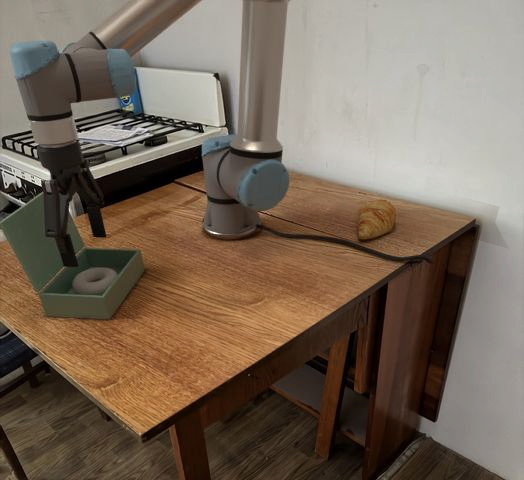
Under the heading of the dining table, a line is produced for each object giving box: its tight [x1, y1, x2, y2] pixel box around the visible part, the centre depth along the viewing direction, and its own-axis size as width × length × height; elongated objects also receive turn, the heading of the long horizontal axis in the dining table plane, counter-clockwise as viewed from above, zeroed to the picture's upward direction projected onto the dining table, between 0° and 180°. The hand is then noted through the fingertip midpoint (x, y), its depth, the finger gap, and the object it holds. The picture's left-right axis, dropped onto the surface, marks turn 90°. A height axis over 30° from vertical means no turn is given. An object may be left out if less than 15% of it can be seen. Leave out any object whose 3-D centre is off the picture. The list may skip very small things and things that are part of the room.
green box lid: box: [0, 191, 86, 293], centre depth 102 cm, size 14×21×1 cm
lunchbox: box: [38, 247, 146, 321], centre depth 107 cm, size 14×21×5 cm, turn 171°
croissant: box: [355, 199, 397, 240], centre depth 127 cm, size 21×10×8 cm, turn 153°
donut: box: [72, 267, 118, 296], centre depth 107 cm, size 10×4×10 cm
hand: (86, 250), depth 102 cm, fingers open, 13 cm apart
